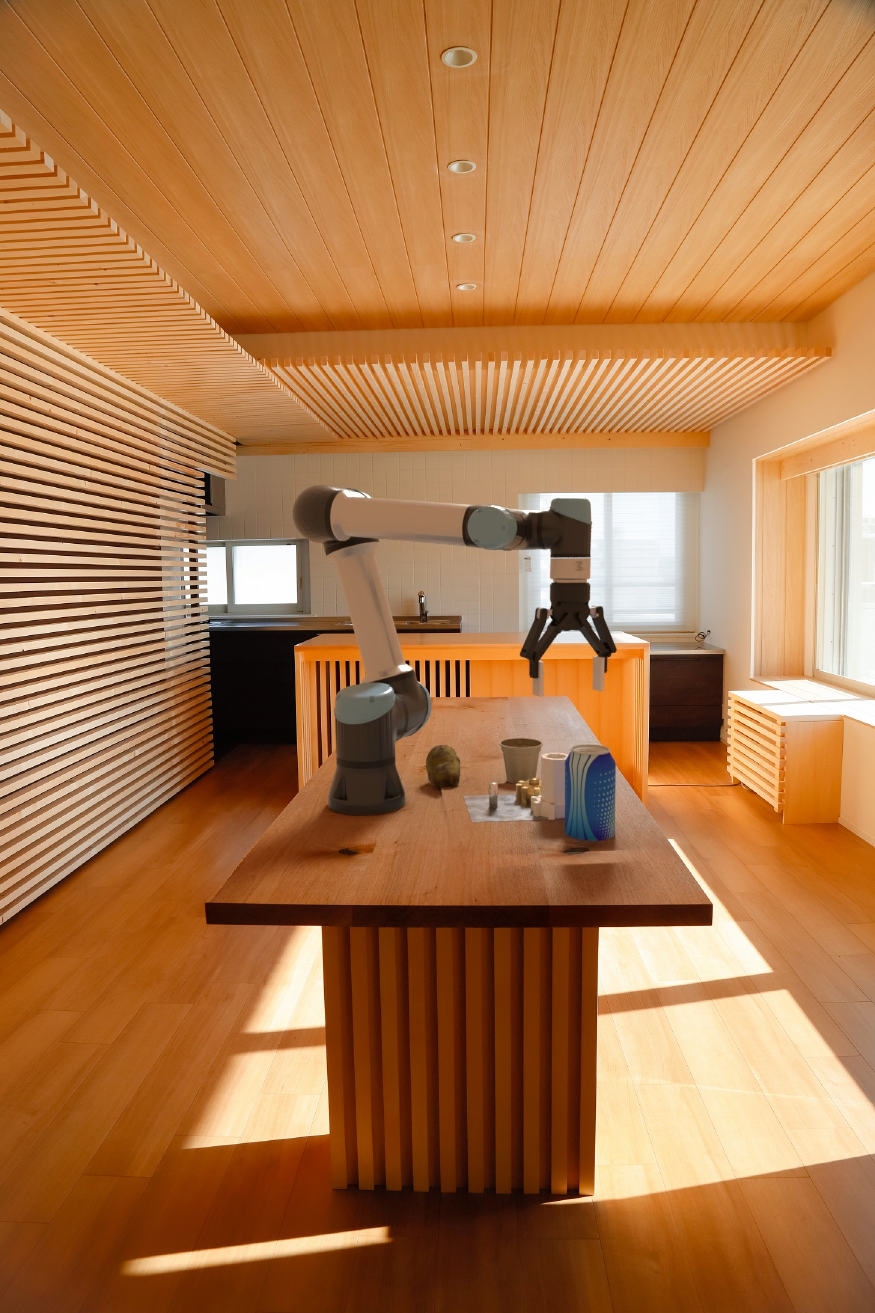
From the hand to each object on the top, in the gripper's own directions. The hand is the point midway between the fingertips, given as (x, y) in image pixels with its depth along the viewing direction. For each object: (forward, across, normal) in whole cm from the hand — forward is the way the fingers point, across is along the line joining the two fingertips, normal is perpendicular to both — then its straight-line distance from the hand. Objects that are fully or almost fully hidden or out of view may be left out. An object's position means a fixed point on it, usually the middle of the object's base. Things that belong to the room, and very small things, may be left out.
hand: (568, 692), depth 154 cm
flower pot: (+23, +1, +19) cm, 30 cm away
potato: (+23, -15, +24) cm, 37 cm away
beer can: (+22, -7, -18) cm, 30 cm away
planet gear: (+21, -6, -6) cm, 23 cm away
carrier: (+22, -10, -1) cm, 24 cm away
